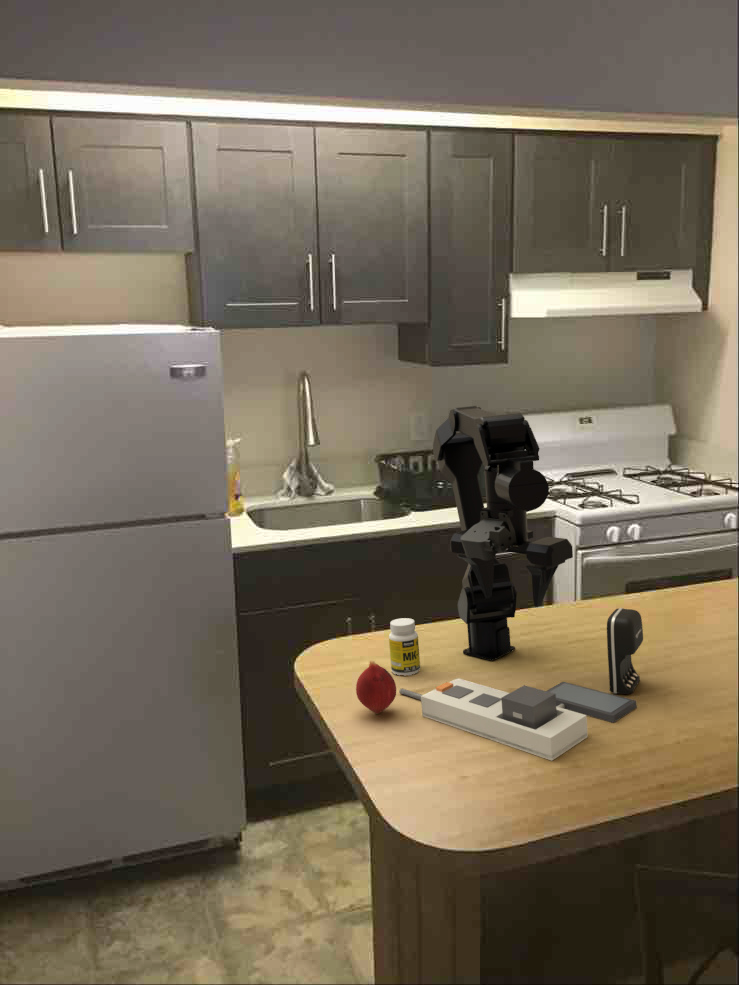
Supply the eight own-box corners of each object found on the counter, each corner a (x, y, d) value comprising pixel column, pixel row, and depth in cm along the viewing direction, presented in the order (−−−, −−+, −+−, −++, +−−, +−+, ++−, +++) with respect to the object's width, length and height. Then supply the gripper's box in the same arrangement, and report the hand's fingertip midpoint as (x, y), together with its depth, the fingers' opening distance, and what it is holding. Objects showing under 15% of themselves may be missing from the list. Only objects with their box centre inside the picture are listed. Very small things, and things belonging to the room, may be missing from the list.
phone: (512, 716, 117) (511, 709, 117) (563, 687, 125) (562, 680, 125) (587, 740, 108) (587, 732, 108) (636, 707, 116) (636, 700, 116)
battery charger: (635, 698, 119) (632, 621, 117) (608, 694, 121) (605, 618, 119) (646, 679, 125) (643, 606, 123) (620, 676, 127) (617, 604, 125)
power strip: (381, 701, 126) (379, 680, 125) (418, 684, 131) (416, 663, 131) (551, 760, 104) (550, 734, 103) (587, 736, 109) (586, 712, 108)
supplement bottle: (405, 678, 134) (401, 628, 133) (385, 672, 138) (381, 623, 136) (426, 669, 137) (422, 620, 136) (406, 663, 141) (402, 615, 139)
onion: (403, 705, 124) (398, 654, 123) (391, 722, 118) (386, 669, 117) (366, 703, 126) (361, 652, 124) (352, 720, 120) (347, 667, 119)
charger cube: (526, 719, 114) (524, 685, 113) (557, 729, 111) (555, 693, 110) (503, 733, 111) (501, 697, 110) (534, 743, 107) (532, 707, 106)
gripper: (422, 505, 125) (430, 606, 127) (524, 514, 111) (531, 627, 114) (470, 492, 132) (477, 587, 135) (572, 499, 119) (577, 605, 121)
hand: (512, 601), depth 126 cm, fingers open, 9 cm apart
